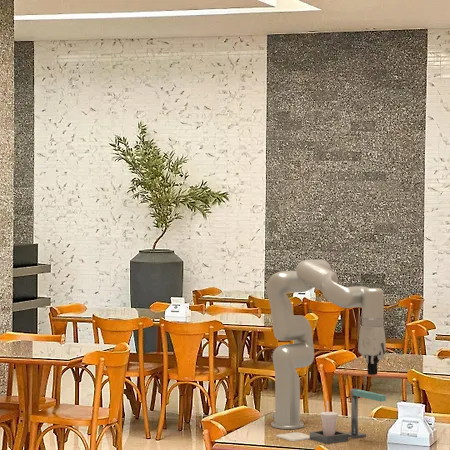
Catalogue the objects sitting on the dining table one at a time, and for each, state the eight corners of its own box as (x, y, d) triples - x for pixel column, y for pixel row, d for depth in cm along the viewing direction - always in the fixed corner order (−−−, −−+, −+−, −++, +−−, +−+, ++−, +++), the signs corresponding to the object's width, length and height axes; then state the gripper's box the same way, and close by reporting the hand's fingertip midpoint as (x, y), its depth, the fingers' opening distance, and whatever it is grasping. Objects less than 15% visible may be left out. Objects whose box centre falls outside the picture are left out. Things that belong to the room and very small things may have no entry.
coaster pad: (275, 436, 369) (275, 435, 369) (297, 433, 375) (297, 432, 375) (291, 441, 361) (291, 439, 361) (313, 438, 366) (313, 436, 366)
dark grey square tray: (309, 439, 365) (309, 432, 365) (331, 435, 371) (331, 429, 371) (326, 444, 357) (326, 437, 357) (348, 440, 362) (348, 433, 362)
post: (342, 435, 371) (343, 395, 371) (355, 433, 374) (355, 393, 374) (353, 438, 366) (353, 397, 366) (366, 436, 369) (366, 396, 369)
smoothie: (318, 438, 367) (318, 399, 367) (336, 437, 367) (336, 399, 367) (321, 442, 360) (321, 403, 360) (339, 441, 361) (339, 402, 361)
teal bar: (348, 394, 371) (348, 389, 371) (355, 393, 372) (355, 388, 372) (380, 401, 356) (380, 396, 356) (386, 400, 357) (386, 395, 357)
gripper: (350, 321, 361) (350, 372, 361) (379, 325, 348) (378, 378, 348) (366, 320, 365) (366, 371, 365) (395, 324, 352) (394, 376, 352)
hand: (372, 374), depth 357 cm, fingers closed
